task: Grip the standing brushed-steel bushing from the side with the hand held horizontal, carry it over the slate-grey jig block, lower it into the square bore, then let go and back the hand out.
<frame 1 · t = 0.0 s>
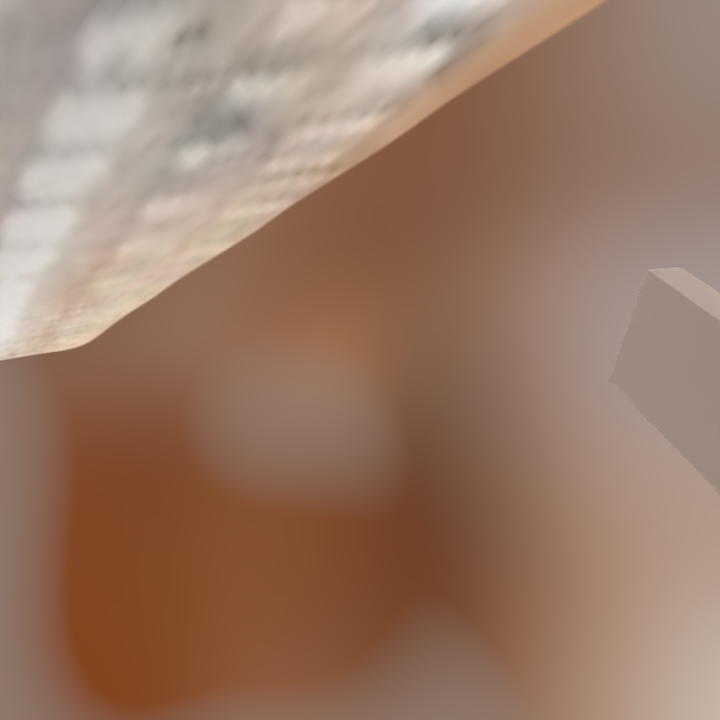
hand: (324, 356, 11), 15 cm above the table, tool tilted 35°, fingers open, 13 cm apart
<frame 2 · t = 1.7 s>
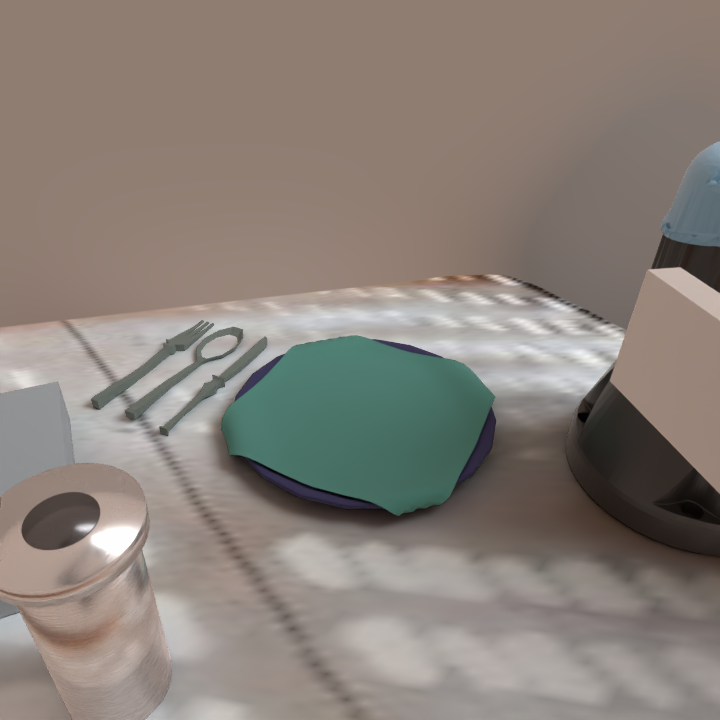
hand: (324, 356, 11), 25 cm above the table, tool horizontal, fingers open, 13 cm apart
bushing: (120, 680, 31), on the table
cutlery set: (305, 409, 49), on the table
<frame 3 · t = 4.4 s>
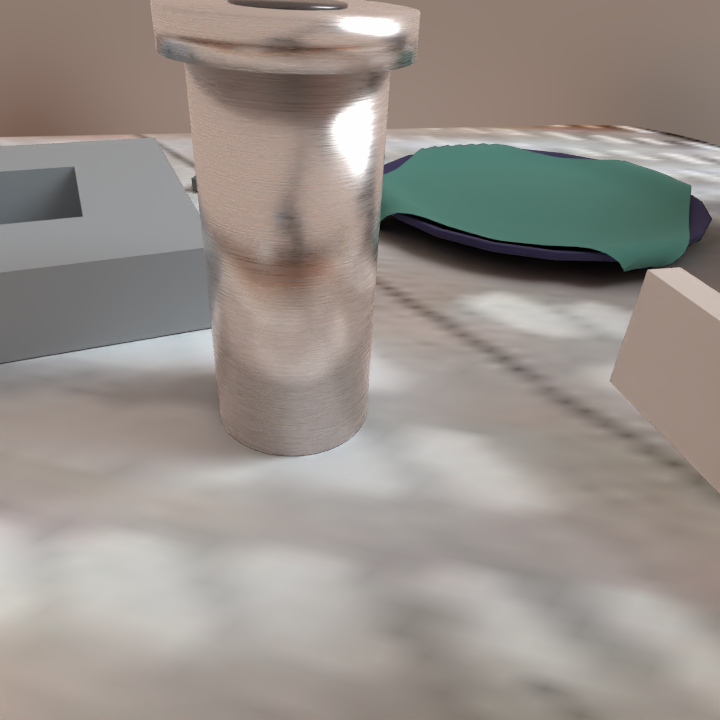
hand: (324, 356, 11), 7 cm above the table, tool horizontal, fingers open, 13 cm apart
jig: (12, 270, 28), on the table
bushing: (294, 405, 21), on the table
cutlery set: (449, 207, 40), on the table
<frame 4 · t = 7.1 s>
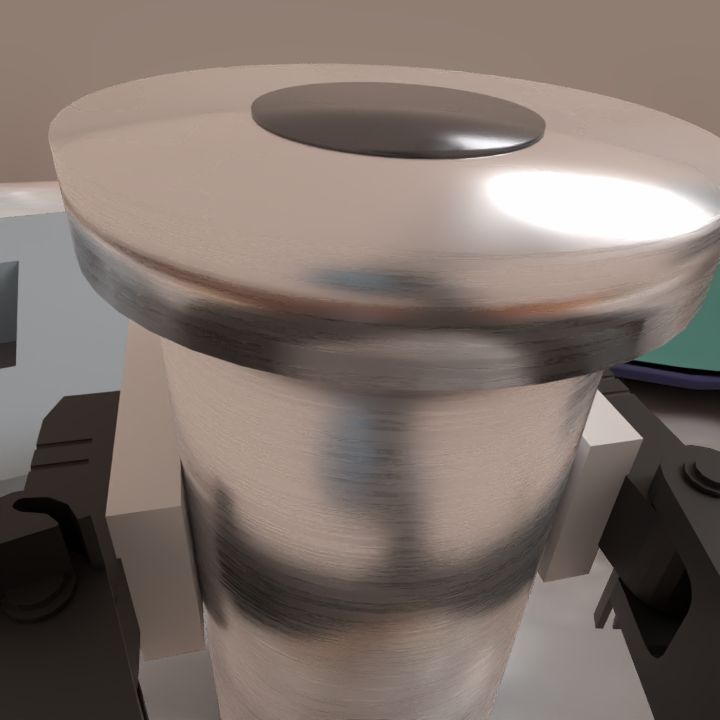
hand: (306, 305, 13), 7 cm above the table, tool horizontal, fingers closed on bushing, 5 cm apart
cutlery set: (512, 280, 32), on the table
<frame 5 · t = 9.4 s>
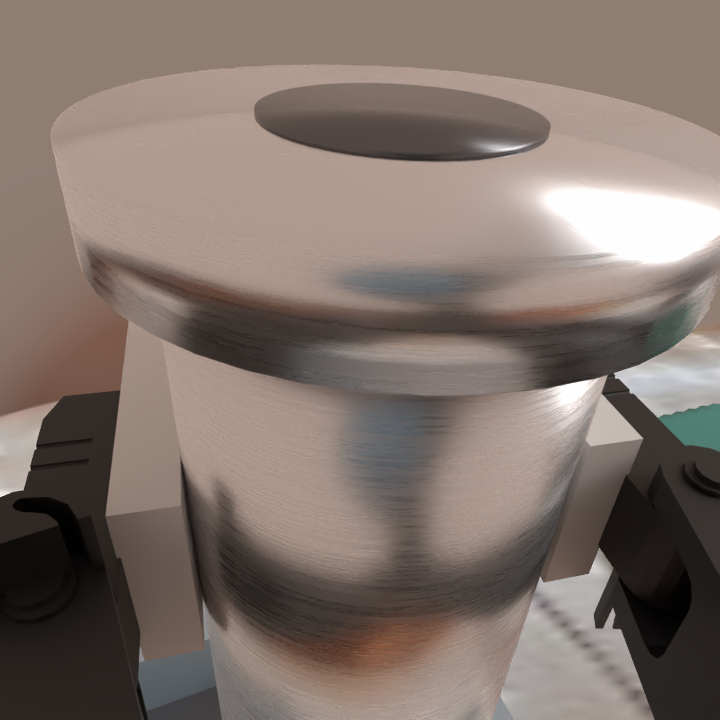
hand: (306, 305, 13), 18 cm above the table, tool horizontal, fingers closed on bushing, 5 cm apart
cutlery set: (707, 522, 33), on the table
when the fingers open (9 cm above the table, at t = 12.1 s): bushing drops 2 cm, resting on jig.
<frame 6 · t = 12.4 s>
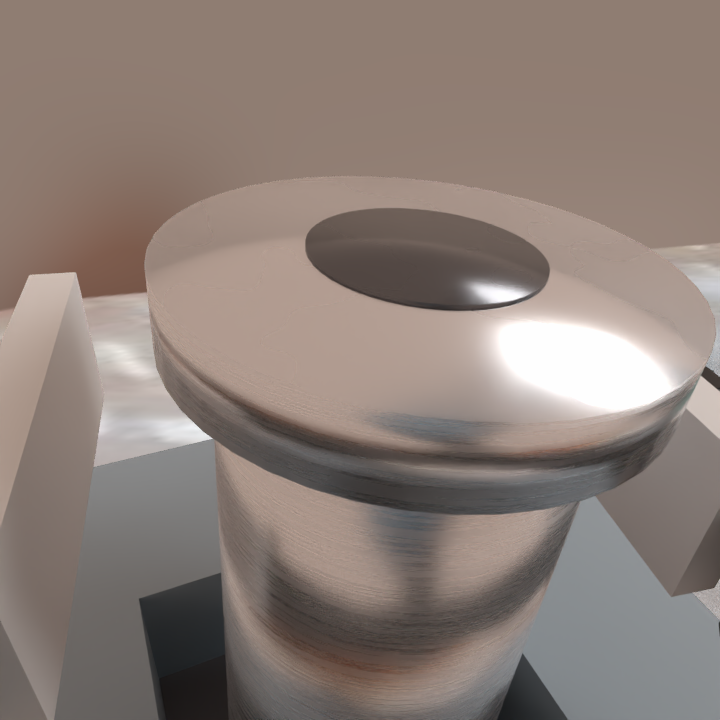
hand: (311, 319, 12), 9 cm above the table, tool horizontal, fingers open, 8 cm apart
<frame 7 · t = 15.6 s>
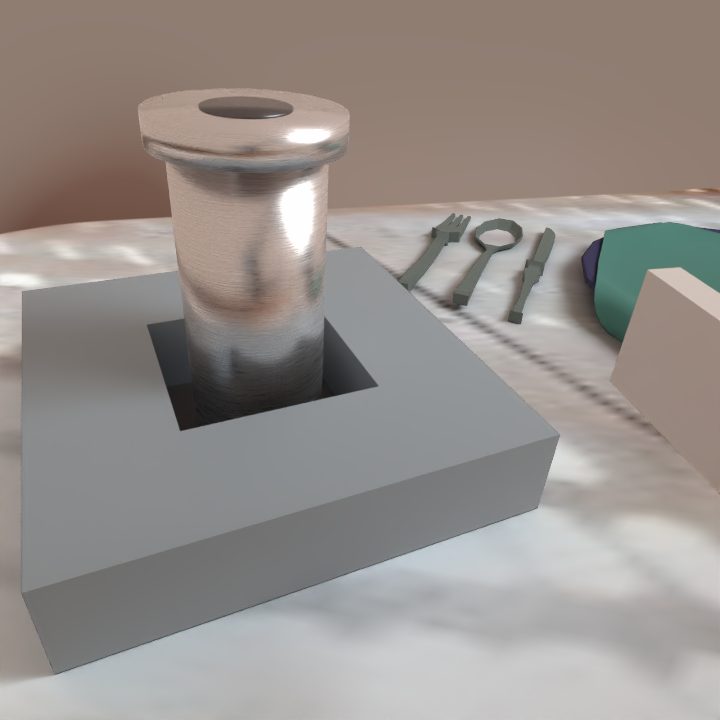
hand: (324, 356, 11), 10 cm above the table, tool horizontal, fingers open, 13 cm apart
jig: (259, 424, 25), on the table
bushing: (259, 419, 25), resting on jig
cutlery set: (654, 301, 38), on the table
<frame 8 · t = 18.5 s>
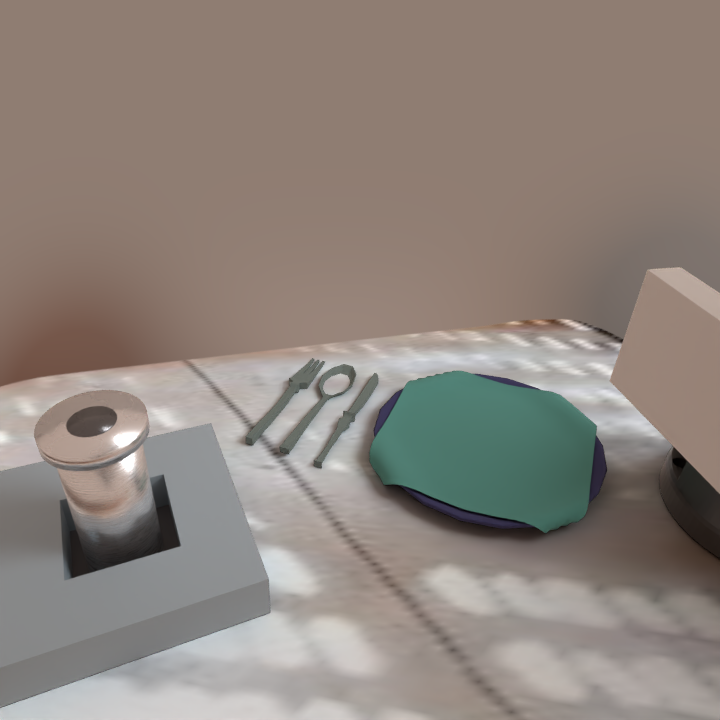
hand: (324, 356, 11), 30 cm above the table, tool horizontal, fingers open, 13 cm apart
jig: (127, 556, 43), on the table
bushing: (126, 554, 43), resting on jig
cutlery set: (429, 440, 56), on the table
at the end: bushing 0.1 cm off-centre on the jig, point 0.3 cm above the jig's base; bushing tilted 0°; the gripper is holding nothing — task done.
